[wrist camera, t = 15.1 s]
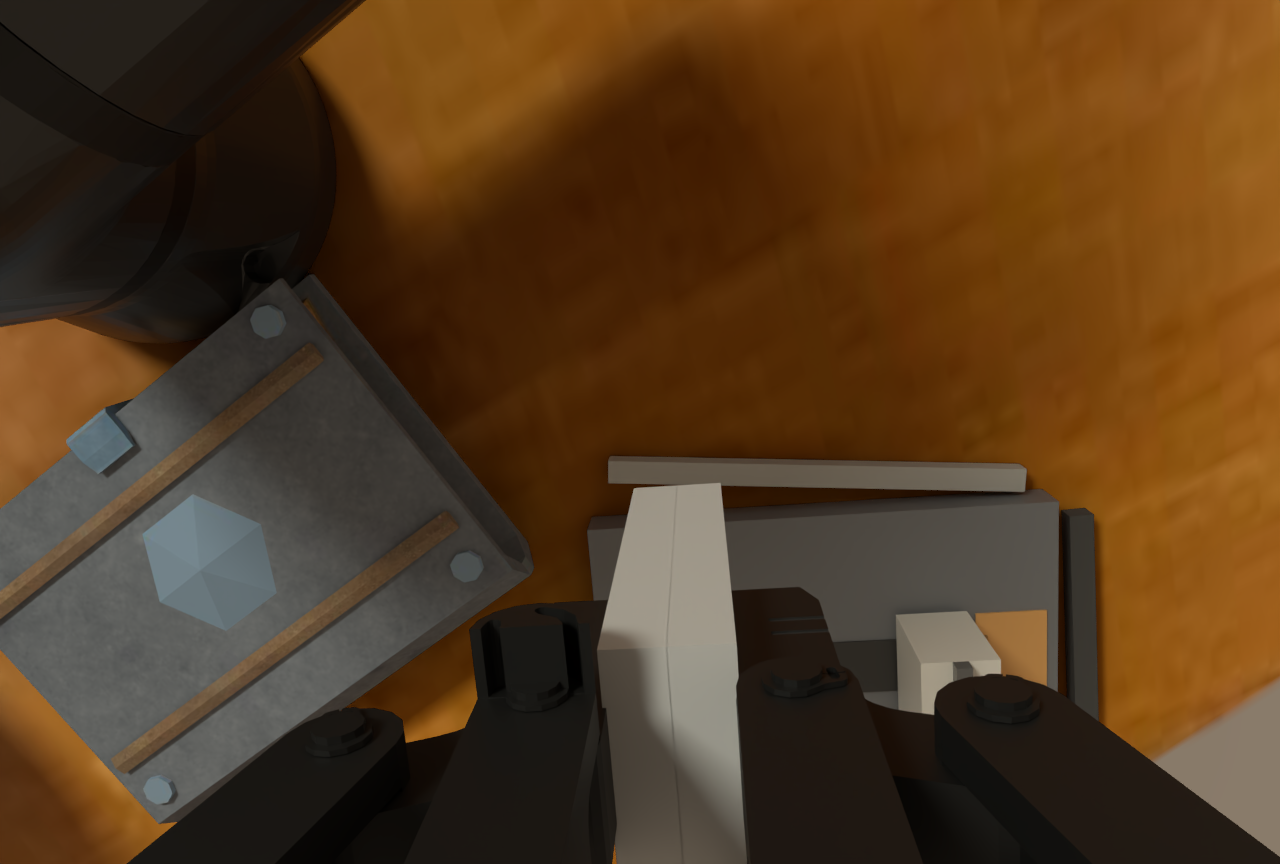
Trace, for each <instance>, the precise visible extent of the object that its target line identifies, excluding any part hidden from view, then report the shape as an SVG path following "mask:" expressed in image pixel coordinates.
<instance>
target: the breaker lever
mask: <svg viewBox="0 0 1280 864" xmlns="http://www.w3.org/2000/svg"><path fill="white" fill-rule="evenodd" d="M896 640H897V674H898V708H899V710H903V711H908V712H916V713H924V714H932V715H934V702H935V698H936V694H937V691H939V690H940V689H941V688H943V687H944V686H946V685H947V684H948V683H950V682H953V681H957V680H960V679H963V678H967V677H974V676H985V675H986V674H1001V659H1000V658H999V656H998V655H997V653H996V652H995V651H994V649H993V648H992V646H991V645H990V643H989V642H988V641H987V639H986V638H985V636H984V635H983V633H982V632H981V631H980V629H979V628H978V626H977V625H976V623H975V622H974V621H973V619H972V618H971V616H970V615H969V613H968V612H967V611H956V612H937V613H918V614H900V615H896Z"/></svg>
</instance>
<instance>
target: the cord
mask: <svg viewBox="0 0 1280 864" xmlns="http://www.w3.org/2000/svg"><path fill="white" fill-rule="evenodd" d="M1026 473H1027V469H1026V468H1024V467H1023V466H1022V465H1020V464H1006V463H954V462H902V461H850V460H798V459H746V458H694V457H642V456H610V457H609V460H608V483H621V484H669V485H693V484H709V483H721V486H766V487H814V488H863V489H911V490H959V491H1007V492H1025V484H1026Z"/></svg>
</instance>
